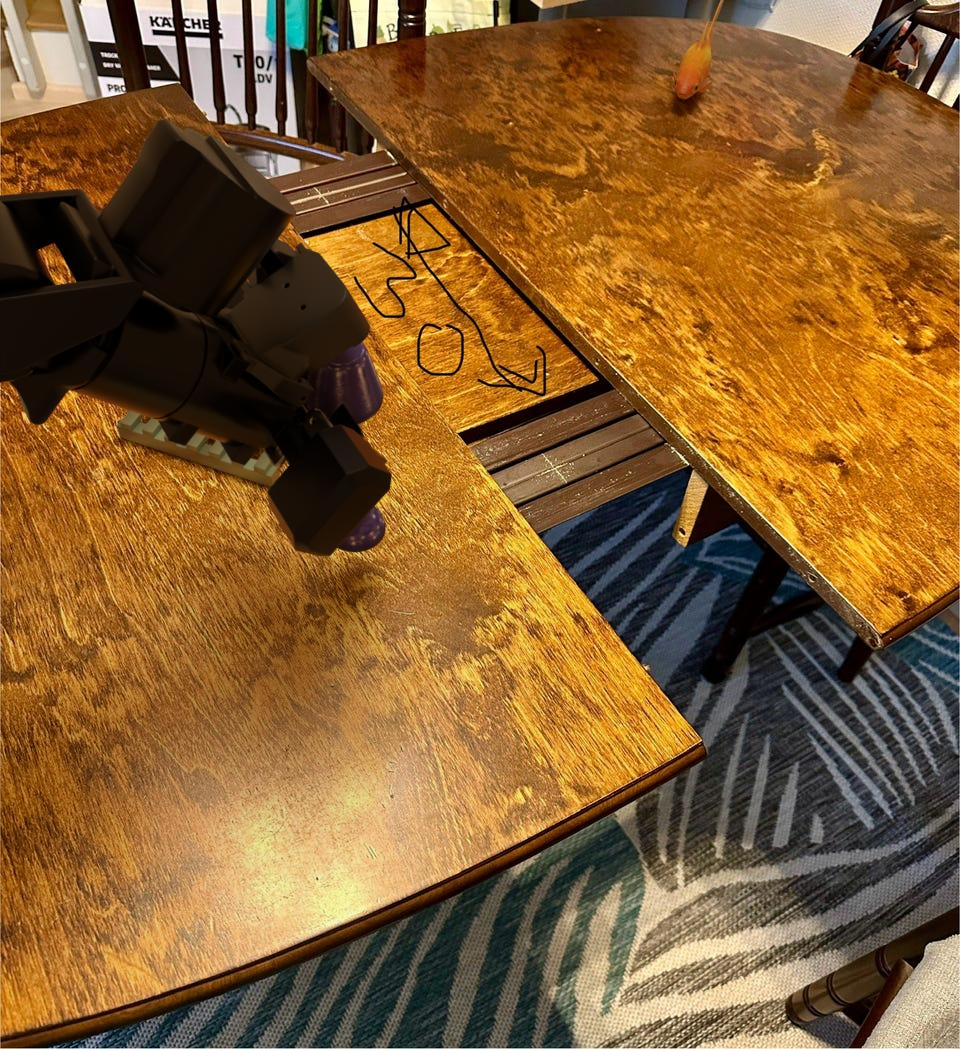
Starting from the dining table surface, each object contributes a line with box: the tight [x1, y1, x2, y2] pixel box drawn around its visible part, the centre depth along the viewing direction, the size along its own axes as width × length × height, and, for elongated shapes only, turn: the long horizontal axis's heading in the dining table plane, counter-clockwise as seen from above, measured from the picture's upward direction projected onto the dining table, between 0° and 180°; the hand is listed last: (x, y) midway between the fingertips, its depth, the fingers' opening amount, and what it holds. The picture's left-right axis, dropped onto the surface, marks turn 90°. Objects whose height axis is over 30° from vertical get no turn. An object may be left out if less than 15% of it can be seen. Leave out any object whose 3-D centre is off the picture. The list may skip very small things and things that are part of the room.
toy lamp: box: [306, 341, 387, 554], centre depth 57 cm, size 5×5×17 cm
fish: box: [672, 0, 725, 100], centre depth 119 cm, size 22×6×10 cm, turn 159°
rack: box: [115, 410, 280, 488], centre depth 74 cm, size 14×12×7 cm
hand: (367, 444), depth 58 cm, fingers closed on toy lamp, 4 cm apart
